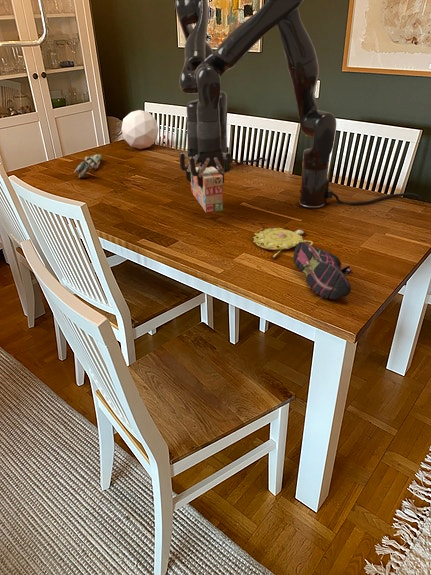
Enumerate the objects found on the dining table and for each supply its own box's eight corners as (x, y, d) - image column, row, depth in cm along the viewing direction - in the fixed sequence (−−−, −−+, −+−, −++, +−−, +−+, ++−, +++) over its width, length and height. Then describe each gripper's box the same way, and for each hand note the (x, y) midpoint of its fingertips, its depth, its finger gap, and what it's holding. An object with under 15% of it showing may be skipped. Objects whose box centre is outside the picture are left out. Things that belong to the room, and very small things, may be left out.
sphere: (134, 159, 245) (115, 127, 242) (165, 142, 247) (146, 110, 244) (133, 150, 226) (112, 115, 223) (166, 132, 228) (146, 97, 226)
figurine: (78, 158, 192) (99, 144, 218) (67, 172, 195) (90, 156, 221) (91, 170, 194) (110, 155, 220) (80, 183, 197) (101, 166, 224)
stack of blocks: (190, 192, 167) (188, 159, 160) (206, 190, 168) (205, 157, 162) (205, 213, 150) (204, 177, 143) (223, 210, 151) (222, 175, 144)
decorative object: (267, 219, 151) (324, 228, 141) (267, 226, 152) (323, 235, 143) (237, 243, 137) (298, 255, 127) (238, 250, 138) (298, 263, 128)
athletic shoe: (337, 289, 105) (377, 281, 109) (296, 226, 117) (333, 221, 121) (320, 316, 114) (357, 308, 118) (283, 255, 126) (318, 250, 130)
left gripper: (180, 138, 148) (183, 185, 157) (221, 134, 151) (222, 180, 160) (175, 133, 154) (178, 179, 163) (214, 129, 157) (216, 174, 166)
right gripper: (189, 140, 135) (193, 192, 144) (234, 135, 139) (234, 186, 148) (184, 134, 141) (187, 185, 150) (227, 130, 145) (227, 179, 154)
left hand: (200, 179), depth 162 cm, fingers open, 7 cm apart
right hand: (211, 185), depth 149 cm, fingers closed on stack of blocks, 6 cm apart
